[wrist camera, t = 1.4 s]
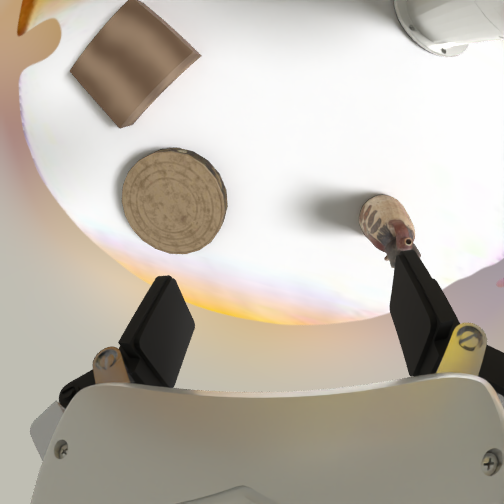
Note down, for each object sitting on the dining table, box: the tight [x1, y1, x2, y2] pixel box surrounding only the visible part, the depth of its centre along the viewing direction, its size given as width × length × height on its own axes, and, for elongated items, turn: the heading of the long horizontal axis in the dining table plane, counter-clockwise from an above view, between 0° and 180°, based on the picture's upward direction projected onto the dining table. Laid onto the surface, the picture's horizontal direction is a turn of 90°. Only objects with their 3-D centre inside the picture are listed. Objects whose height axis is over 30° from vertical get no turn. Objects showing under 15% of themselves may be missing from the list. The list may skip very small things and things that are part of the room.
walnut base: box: [70, 0, 201, 128], centre depth 27 cm, size 14×14×4 cm
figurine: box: [359, 195, 421, 268], centre depth 32 cm, size 7×7×12 cm
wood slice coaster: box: [122, 148, 228, 254], centre depth 39 cm, size 16×16×3 cm
